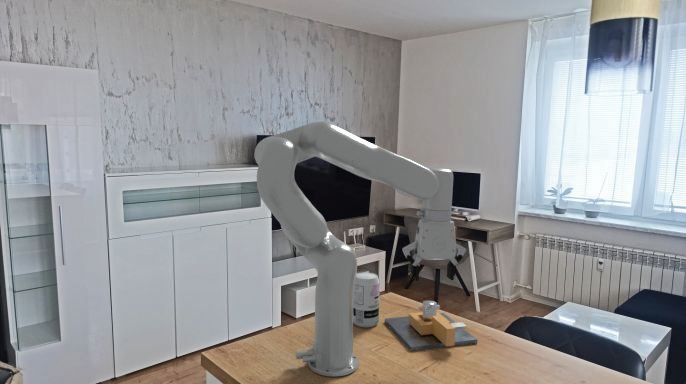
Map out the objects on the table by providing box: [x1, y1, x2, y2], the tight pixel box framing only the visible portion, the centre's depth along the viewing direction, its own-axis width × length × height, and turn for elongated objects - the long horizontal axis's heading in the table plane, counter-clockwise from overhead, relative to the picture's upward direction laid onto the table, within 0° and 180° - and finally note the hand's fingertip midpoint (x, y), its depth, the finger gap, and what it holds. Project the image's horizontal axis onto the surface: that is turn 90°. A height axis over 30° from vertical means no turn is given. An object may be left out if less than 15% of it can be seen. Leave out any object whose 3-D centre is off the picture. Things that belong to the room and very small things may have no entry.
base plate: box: [384, 300, 478, 352], centre depth 136 cm, size 22×20×9 cm
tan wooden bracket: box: [408, 310, 455, 347], centre depth 132 cm, size 9×18×5 cm, turn 16°
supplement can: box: [353, 271, 381, 329], centre depth 142 cm, size 8×8×15 cm
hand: (432, 278), depth 123 cm, fingers open, 9 cm apart
